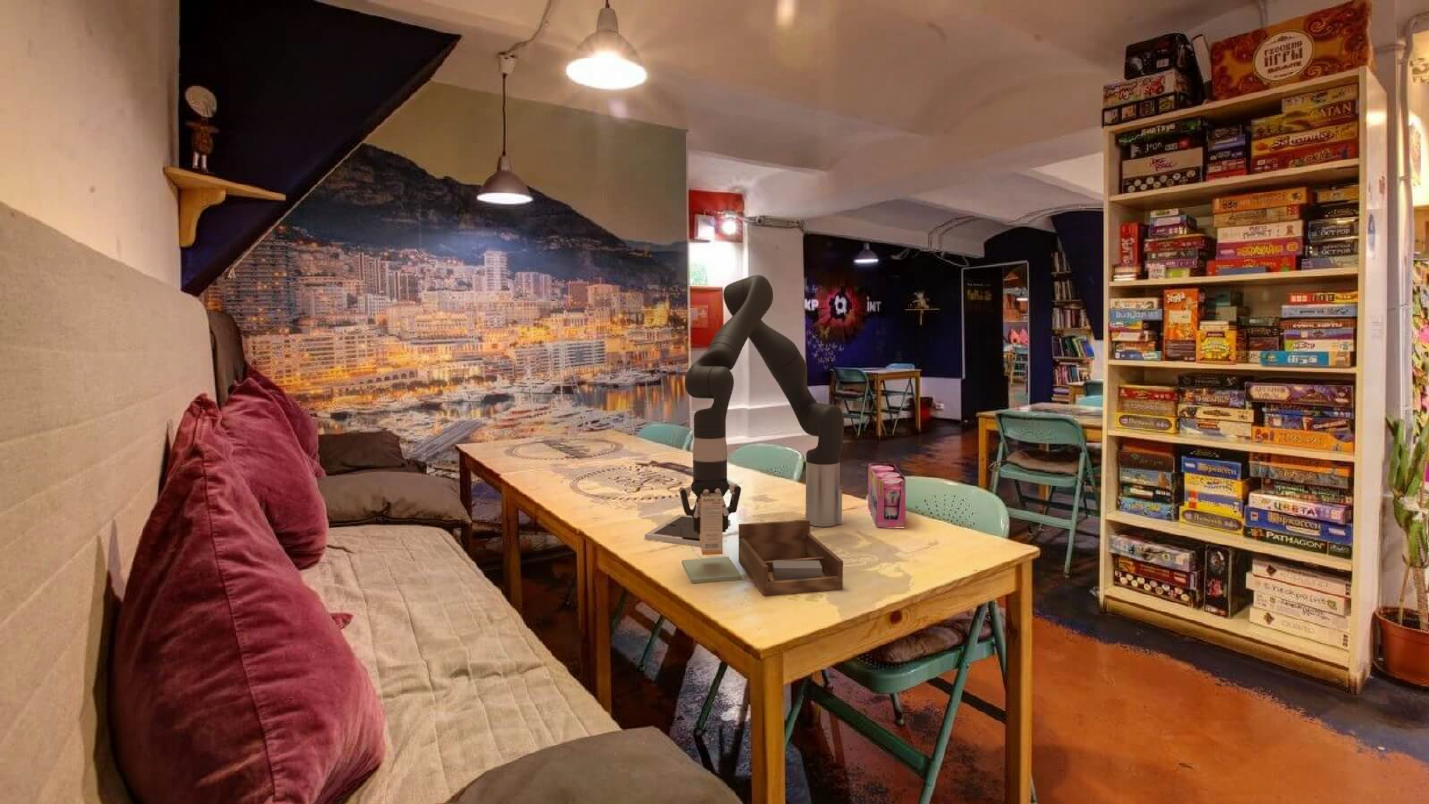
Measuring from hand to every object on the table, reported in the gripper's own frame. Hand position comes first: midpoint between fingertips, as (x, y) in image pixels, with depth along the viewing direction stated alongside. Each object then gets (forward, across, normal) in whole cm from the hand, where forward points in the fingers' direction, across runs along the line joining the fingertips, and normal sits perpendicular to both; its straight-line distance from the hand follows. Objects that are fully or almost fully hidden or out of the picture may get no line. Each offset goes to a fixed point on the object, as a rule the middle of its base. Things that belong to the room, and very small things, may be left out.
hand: (710, 532), depth 153 cm
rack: (+9, -16, +6) cm, 19 cm away
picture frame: (+10, 0, -31) cm, 32 cm away
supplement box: (+4, 0, 0) cm, 4 cm away
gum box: (+9, -58, -32) cm, 67 cm away
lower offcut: (+10, -16, +12) cm, 22 cm away
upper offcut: (+7, -16, +12) cm, 21 cm away
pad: (+9, 0, 0) cm, 9 cm away
